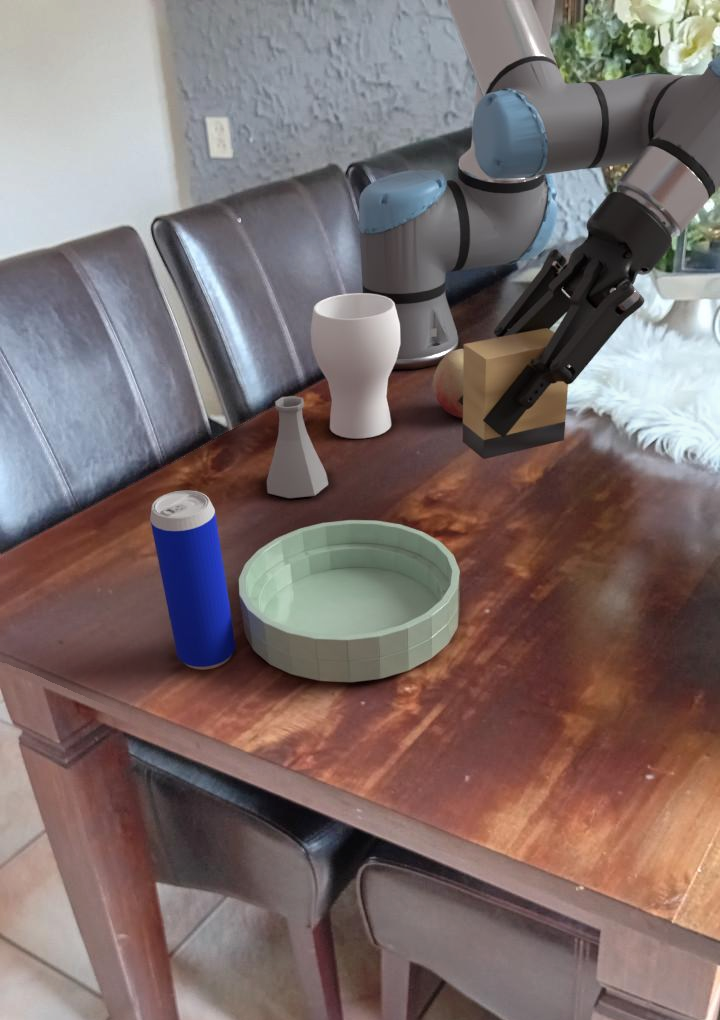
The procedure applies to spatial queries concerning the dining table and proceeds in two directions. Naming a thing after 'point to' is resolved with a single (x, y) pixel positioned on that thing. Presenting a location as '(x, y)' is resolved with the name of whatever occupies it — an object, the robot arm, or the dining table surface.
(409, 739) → the dining table surface
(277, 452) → the flask
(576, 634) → the dining table surface
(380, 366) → the cup
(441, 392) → the fruit
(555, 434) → the eraser
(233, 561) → the dining table surface
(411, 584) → the bowl
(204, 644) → the beverage can
